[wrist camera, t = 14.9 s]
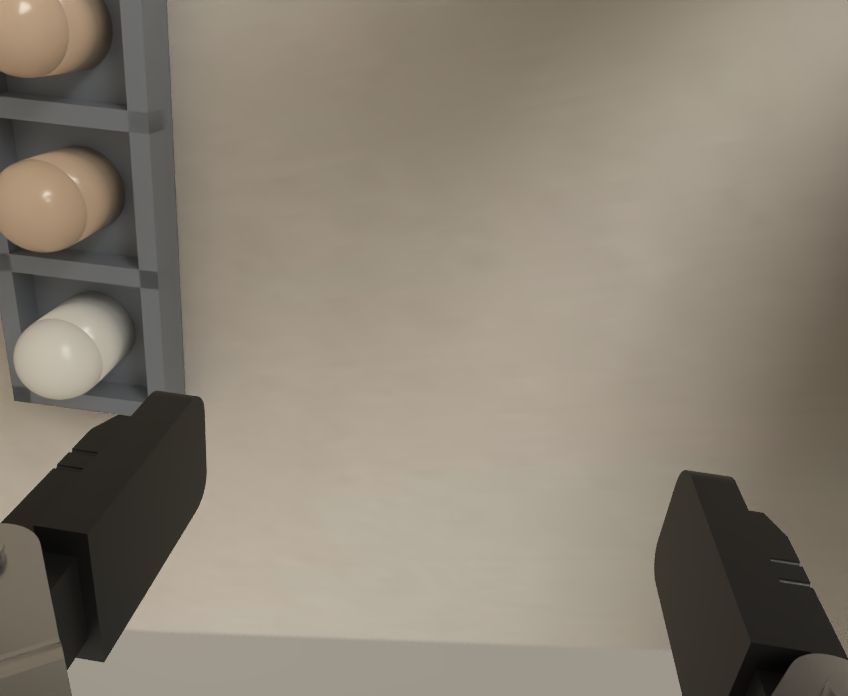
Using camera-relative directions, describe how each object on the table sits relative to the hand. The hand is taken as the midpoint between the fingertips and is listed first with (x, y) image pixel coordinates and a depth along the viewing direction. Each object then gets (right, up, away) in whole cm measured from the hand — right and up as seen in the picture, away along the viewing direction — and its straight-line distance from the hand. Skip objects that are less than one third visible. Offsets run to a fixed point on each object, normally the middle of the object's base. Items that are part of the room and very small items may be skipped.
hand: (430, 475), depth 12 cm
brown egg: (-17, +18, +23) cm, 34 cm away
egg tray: (-18, +11, +27) cm, 35 cm away
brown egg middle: (-18, +11, +26) cm, 34 cm away
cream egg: (-19, +3, +30) cm, 35 cm away
